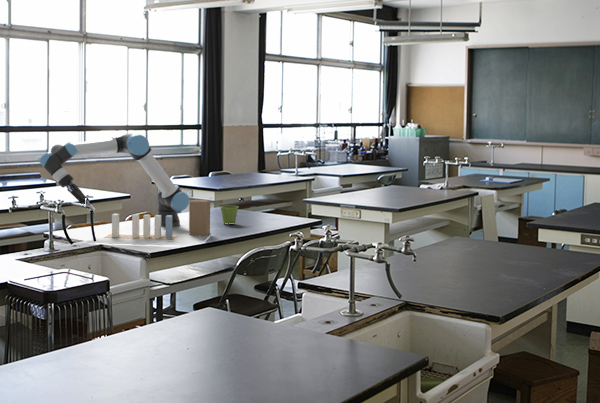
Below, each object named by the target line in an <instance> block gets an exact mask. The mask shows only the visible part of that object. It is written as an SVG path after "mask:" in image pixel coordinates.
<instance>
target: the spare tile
mask: <svg viewBox="0 0 600 403" xmlns="http://www.w3.org/2000/svg"><path fill="white" fill-rule="evenodd" d="M111 234H112V237H118V236H119V234H120V213H112V214H111Z"/></svg>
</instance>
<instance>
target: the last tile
mask: <svg viewBox="0 0 600 403" xmlns="http://www.w3.org/2000/svg"><path fill="white" fill-rule="evenodd" d="M165 236H166V239H171V238H172V236H173V226H172V215H167V216H166V226H165Z"/></svg>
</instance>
